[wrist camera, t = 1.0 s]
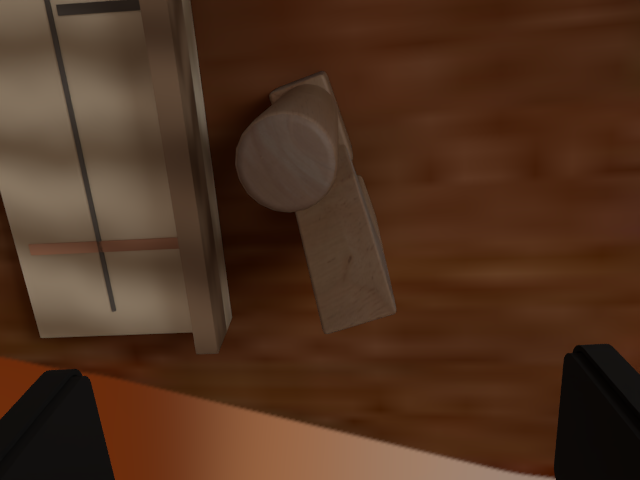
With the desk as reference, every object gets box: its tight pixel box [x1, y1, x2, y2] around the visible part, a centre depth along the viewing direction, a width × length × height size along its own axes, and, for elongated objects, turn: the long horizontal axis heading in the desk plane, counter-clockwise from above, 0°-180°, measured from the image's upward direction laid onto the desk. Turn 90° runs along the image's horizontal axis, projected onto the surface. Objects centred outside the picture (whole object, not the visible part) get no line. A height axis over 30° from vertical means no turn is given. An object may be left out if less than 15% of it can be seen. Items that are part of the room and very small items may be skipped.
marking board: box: [0, 0, 232, 354], centre depth 33 cm, size 28×14×5 cm, turn 3°
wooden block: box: [235, 71, 396, 334], centre depth 27 cm, size 4×11×18 cm, turn 20°
